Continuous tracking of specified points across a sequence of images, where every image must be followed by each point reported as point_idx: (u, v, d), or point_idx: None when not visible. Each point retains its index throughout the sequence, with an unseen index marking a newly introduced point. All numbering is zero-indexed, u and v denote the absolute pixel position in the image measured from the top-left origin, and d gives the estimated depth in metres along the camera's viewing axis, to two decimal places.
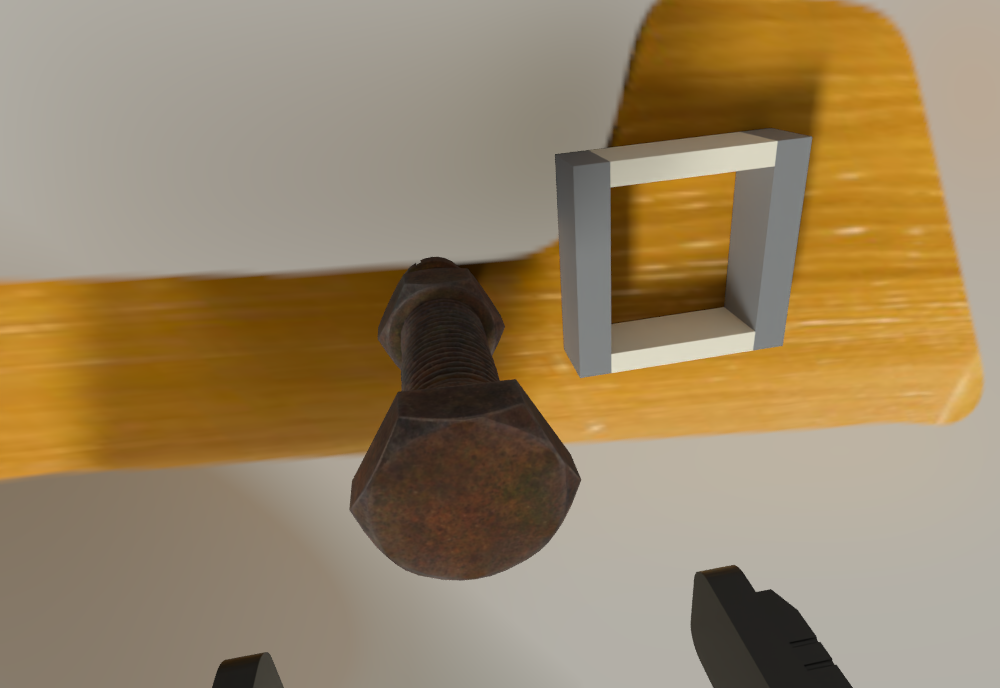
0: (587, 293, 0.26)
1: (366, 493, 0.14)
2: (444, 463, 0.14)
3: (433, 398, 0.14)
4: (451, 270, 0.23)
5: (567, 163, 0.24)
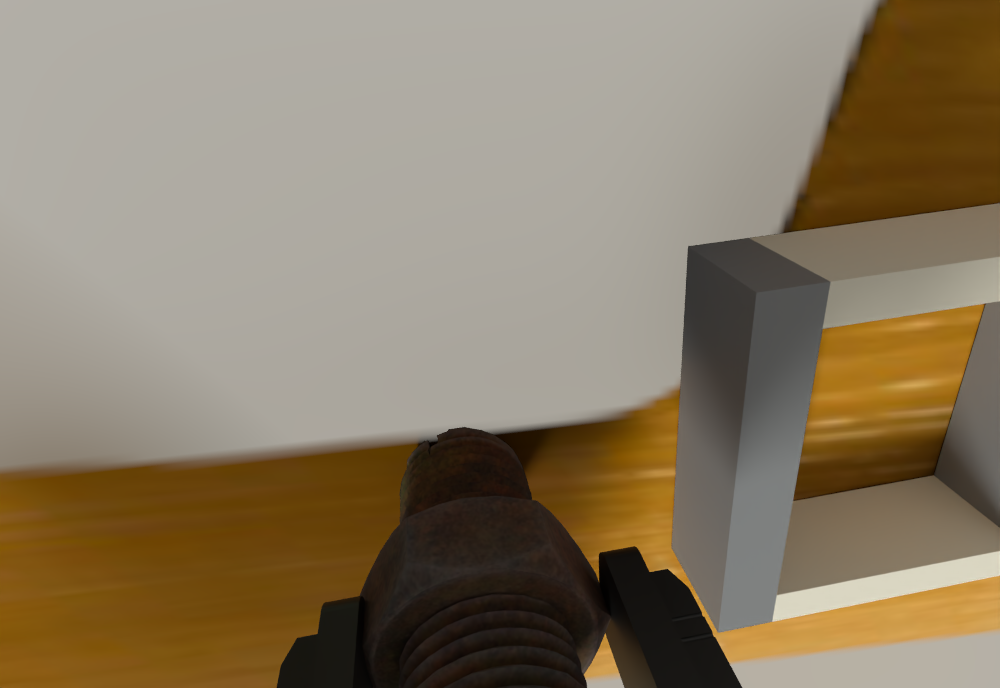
0: (750, 508, 0.14)
1: None
2: None
3: None
4: (503, 507, 0.11)
5: (732, 278, 0.12)
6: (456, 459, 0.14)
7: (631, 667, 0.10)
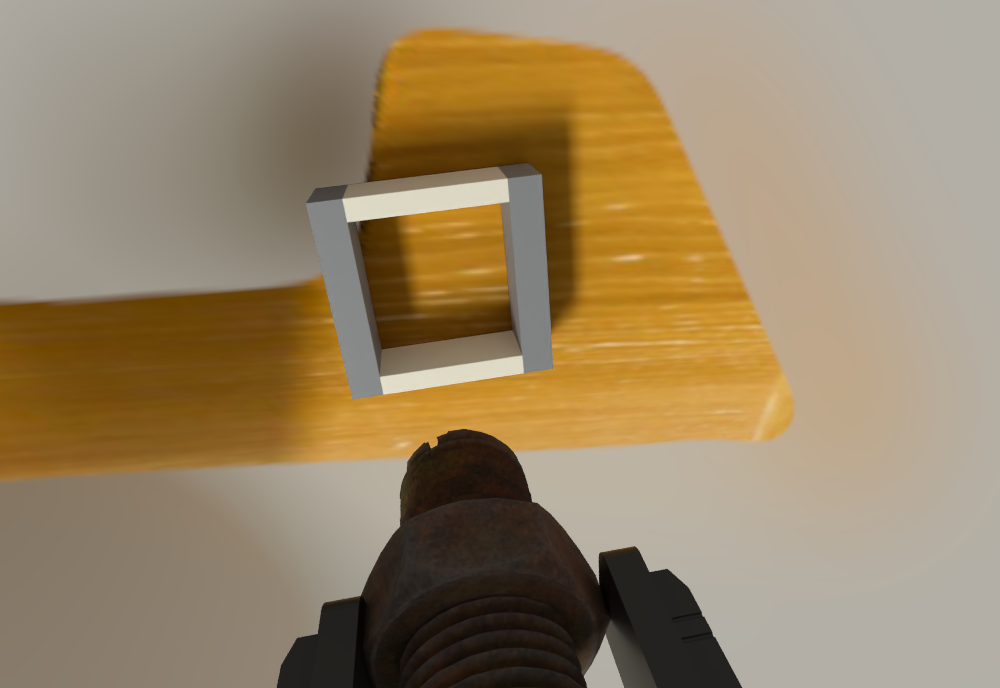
0: (344, 320, 0.27)
1: None
2: None
3: None
4: (504, 509, 0.11)
5: (309, 199, 0.26)
6: (456, 461, 0.14)
7: (631, 667, 0.10)
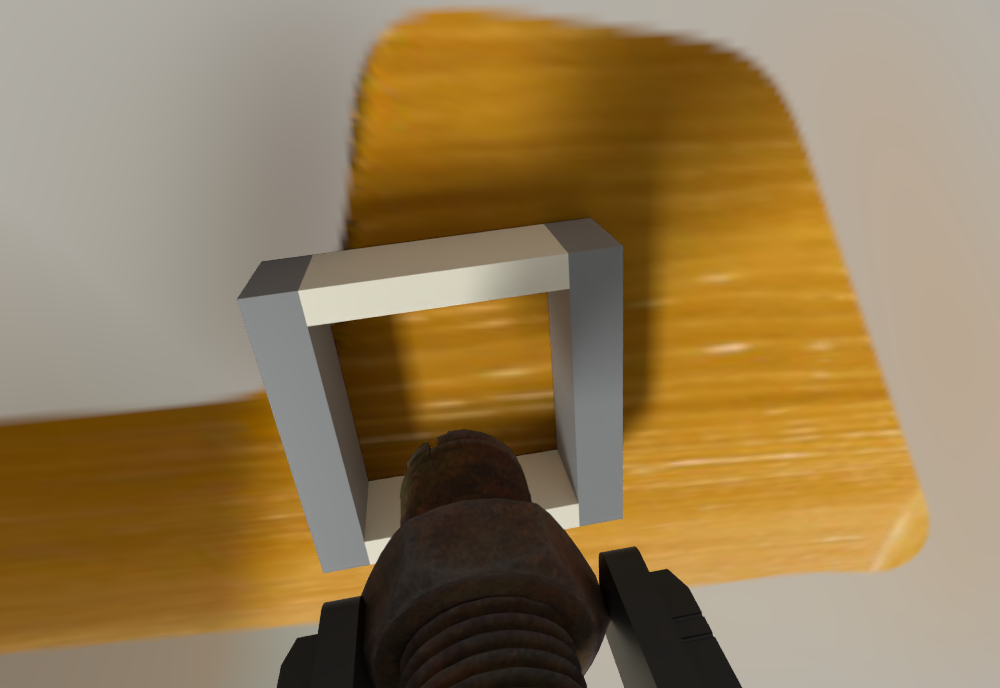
0: (306, 468, 0.17)
1: None
2: None
3: None
4: (504, 509, 0.11)
5: (245, 288, 0.16)
6: (456, 461, 0.14)
7: (631, 667, 0.10)
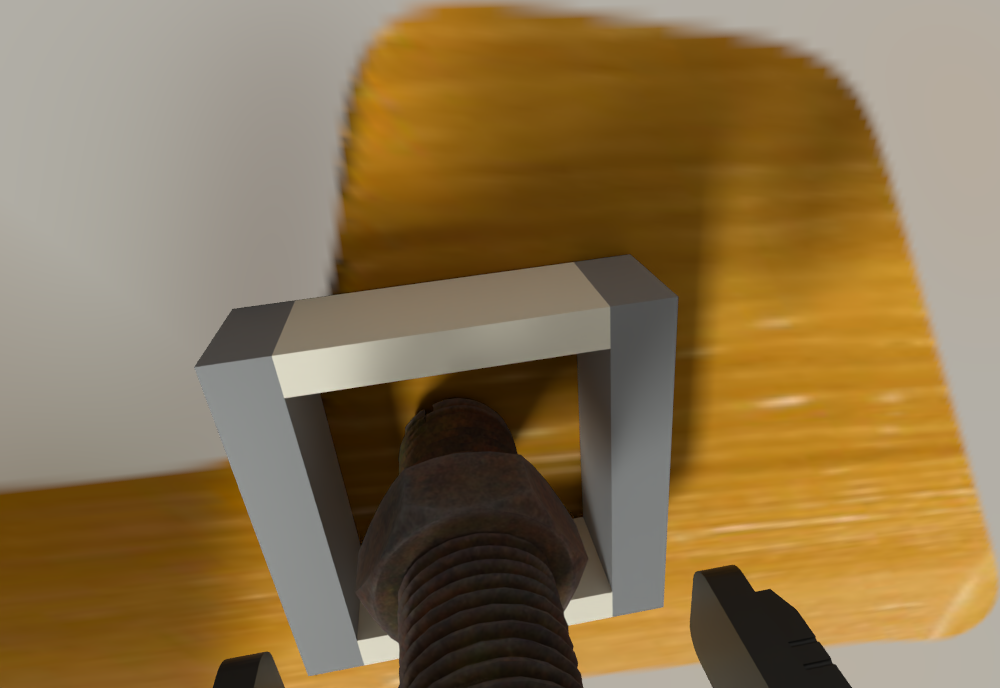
0: (286, 561, 0.14)
1: None
2: None
3: None
4: (491, 460, 0.13)
5: (208, 348, 0.13)
6: (449, 424, 0.15)
7: None
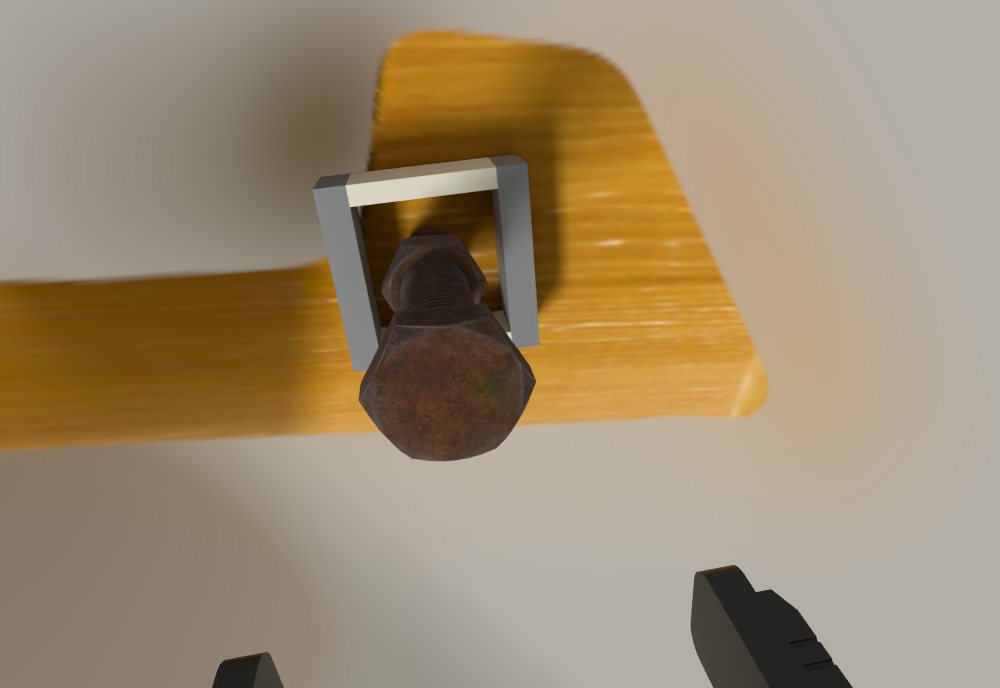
0: (346, 298, 0.30)
1: (371, 384, 0.19)
2: (430, 362, 0.18)
3: (421, 314, 0.19)
4: (442, 236, 0.28)
5: (315, 186, 0.28)
6: None
7: None
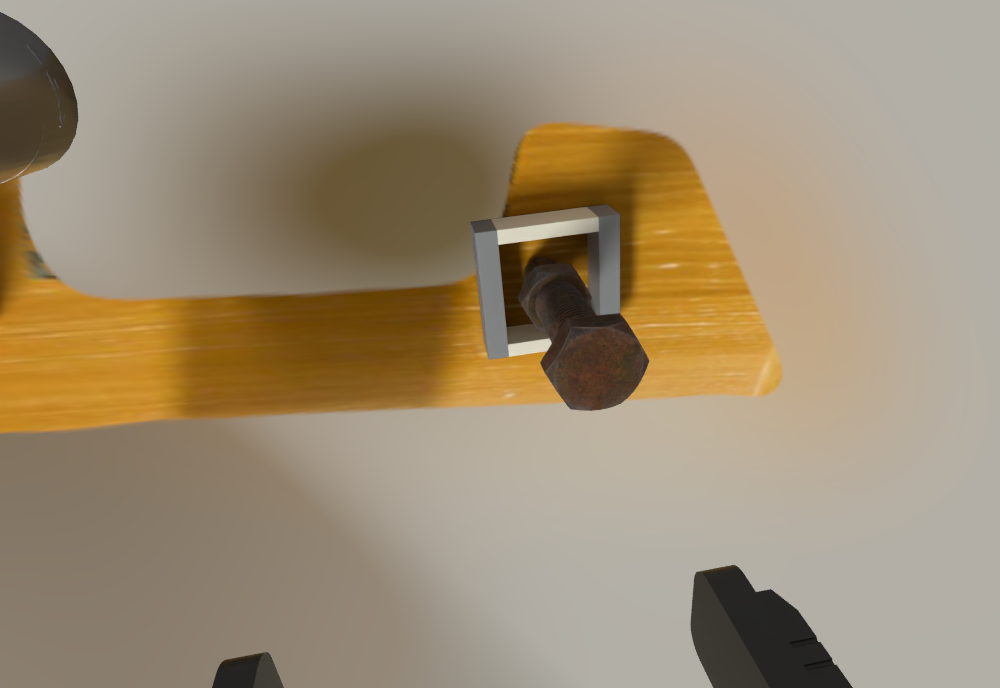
0: (489, 307, 0.42)
1: (555, 362, 0.31)
2: (591, 348, 0.31)
3: (584, 320, 0.31)
4: (561, 264, 0.40)
5: (473, 230, 0.40)
6: (543, 263, 0.43)
7: None
